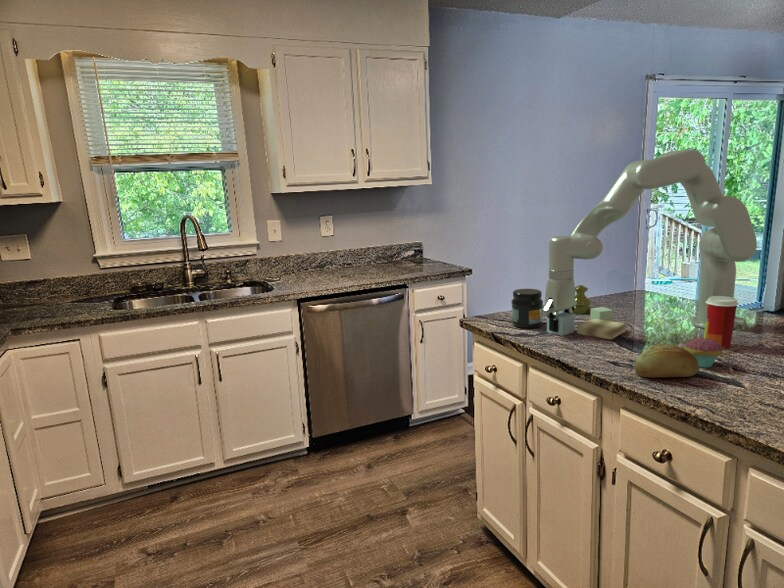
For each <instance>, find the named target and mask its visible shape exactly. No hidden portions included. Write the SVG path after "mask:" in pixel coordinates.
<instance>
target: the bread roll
mask: <svg viewBox="0 0 784 588" xmlns="http://www.w3.org/2000/svg"><path fill="white" fill-rule="evenodd" d="M633 368H634V372H635V373H636V374H637V375H638V376H640V377H642V378H655V379H656V378H678V377H679V378H685V377H687V378H688V377H692V376H693V377H694V376H695V375H697V373H698V372H699V371H700V367H699V364H698V361H697V359H696V358H695V356H694V355H693V354H692V353H690V352H689V351H687V350H686V349H684V348H683V347H682V346H681V347H680V346H678V345H673V344H655V345H651V346H649V347H648V348H645V350H643V351H642V352H641V353H640V354H639V356H638V357H637V359H636V360H635V363H634V367H633Z"/></svg>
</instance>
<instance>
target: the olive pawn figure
mask: <svg viewBox="0 0 784 588" xmlns="http://www.w3.org/2000/svg"><path fill="white" fill-rule="evenodd" d="M588 290H589V288H588V287H586V286H584V285H582V284H579V285H577V286H575V293H576V294H575V300H576V301H577V304H576V306H575V307H574V311H573V314H577V315H584V314H585V315H586V314H587V315H588V314H590V312H591V307H592V305H591V304H592V300H591V299H590V298H588V296H586V294H585V293H586V292H587V291H588Z"/></svg>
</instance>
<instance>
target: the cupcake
mask: <svg viewBox="0 0 784 588" xmlns="http://www.w3.org/2000/svg"><path fill="white" fill-rule="evenodd" d="M708 326H709V322H708V319H707V322H706V326H705V328H704V335H703V337H694V338H690V339H689V340H688V341H686V342H685V344H684V349H686V350H687V351H689V352H690V353H692V354H693V355H694V356H695V358H696V359H697V361H698V364H699V368H711V367H712V366H713V364H714V363H715V361H716V359H717V357H718V356H721V355H722V354H723V349H722V347H721V345H720V344H719V343H718V342H716V341H714V340H711V339H708V338H707V334H708Z"/></svg>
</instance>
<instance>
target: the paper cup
mask: <svg viewBox="0 0 784 588" xmlns="http://www.w3.org/2000/svg"><path fill="white" fill-rule="evenodd" d="M706 303H707V319H708V322H709V326H708V334H707V338H708V339H711V340H714V341H716V342H718V343H719V344H720V345H721V347H722V350H728V349H730V347H731V342H732V339H733V338H732V337H733V331H734V329H733V327H734V320H735V313H736V312H737V306H738V305H739V303H738V300H737V299H736V298H735V297H734V298H732V297H726V296H711V297H709V298H708V299H707V301H706ZM736 314H737V313H736Z"/></svg>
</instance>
